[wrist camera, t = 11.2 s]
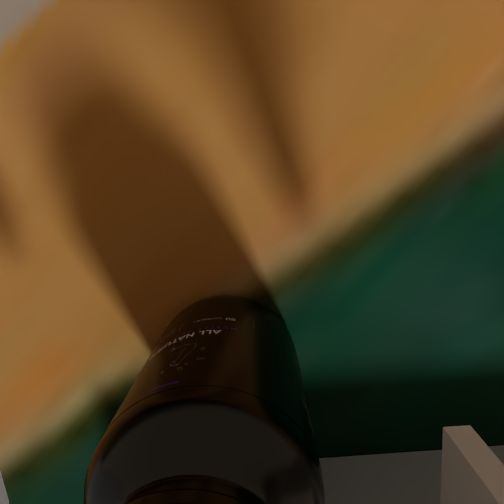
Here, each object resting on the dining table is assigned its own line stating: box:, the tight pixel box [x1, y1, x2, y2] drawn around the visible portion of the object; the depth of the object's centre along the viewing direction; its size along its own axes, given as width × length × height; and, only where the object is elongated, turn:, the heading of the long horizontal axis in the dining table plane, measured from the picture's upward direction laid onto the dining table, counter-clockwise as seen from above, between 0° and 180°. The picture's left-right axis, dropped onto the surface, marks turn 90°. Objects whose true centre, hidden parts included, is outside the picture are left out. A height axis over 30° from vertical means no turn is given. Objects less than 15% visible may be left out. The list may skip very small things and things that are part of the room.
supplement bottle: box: [84, 296, 325, 504], centre depth 12 cm, size 7×7×12 cm
